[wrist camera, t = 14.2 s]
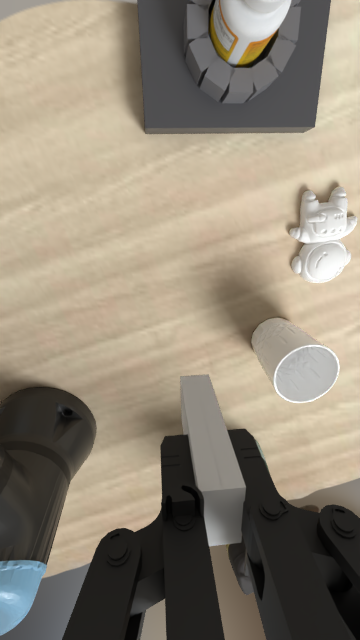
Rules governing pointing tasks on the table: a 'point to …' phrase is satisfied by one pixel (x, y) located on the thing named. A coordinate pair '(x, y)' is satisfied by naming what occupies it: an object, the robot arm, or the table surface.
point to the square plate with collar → (229, 72)
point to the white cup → (294, 360)
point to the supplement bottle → (244, 28)
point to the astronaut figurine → (322, 236)
